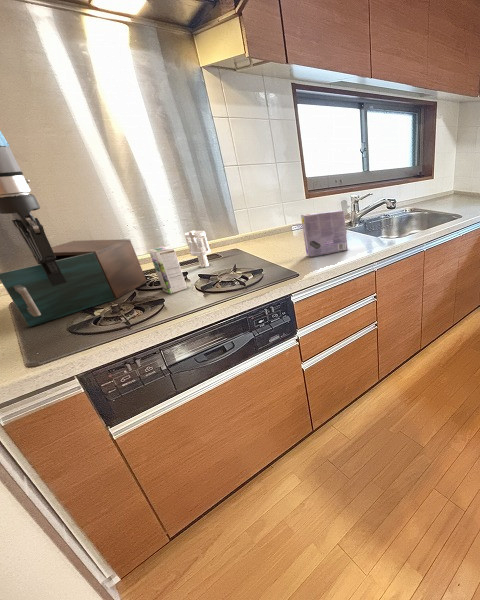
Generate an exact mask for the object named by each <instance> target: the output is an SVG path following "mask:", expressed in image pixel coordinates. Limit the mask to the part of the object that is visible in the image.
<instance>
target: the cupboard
mask: <svg viewBox="0 0 480 600" xmlns="http://www.w3.org/2000/svg"><path fill="white" fill-rule="evenodd" d="M51 248H52V250H53V252H54V254H55V256H56V259H55V261H56V260H61V259H65V258H70V257H74V256H79V255H83V254H88V253H94V254H95V257H96V259H97V261H98V263H99V265H100V267H101V270H102V272H103V274H104V276H105V278H106V280H107V283H108V285H109V287H110V289H111V291H112V293H113V296H114V298H115V299H118V298H120V297H122V296H124V295H126V294H129V292H131V291H133V290H135V289H138V288H139V287H141V286H142V285H144V284H146V283H148V281H147V278H146V276H145V273H144V271H143V268H142V265H141V263H140V260H139V258H138V256H137V254H136V251H135V248H134V246H133V243H132V241H131V239H130V238H128V239H127V238H126V239H123V238H122V239H95V240H94V239H92V240H91V239H90V240H89V239H87V240H85V239H84V240H71V241H68V242H65V243H61V244H58V245H54V246H51ZM34 260H35V262H37V261H38V260H37V259H36V258H34Z"/></svg>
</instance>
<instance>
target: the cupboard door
mask: <svg viewBox="0 0 480 600" xmlns="http://www.w3.org/2000/svg"><path fill="white" fill-rule="evenodd" d="M56 263H57V265H58V267H59V269H60V271H61V273H62V275H63V276H64V278H65V280H66V282H67V283H63V284H59V285H55V286H53V285H52V284H51V282H50V281H49V279H48V277H47V275H46V273H45V272H44V270H43V268H42V266H41V264H38V263H37V264H34V265H30V266H25V267H19V268H16V269H12V270H7V271H3V272H0V283H1V284H2V286H3V287H4V289H5V290H6V292H7V294H8V296H9V297H10V299H11V300H12V302H13V303H14V305H15V307H16V308H17V310H18V311H19V313H20V315H21V317H22V318H23V320H24V321H25V324H26V325H27V326H28V328H31V327H35V326H37V325H41V324H44V323H47V322H49V321H53V320H56V319H59V318H62V317H66V316H69V315H71V314H75V313H78V312H80V311H84V310H86V309H90V308H93V307H96V306H99V305H102V304H105V303H108V302H112V301H114V300H116V298H114V296H113V293H112V291H111V289H110V287H109V285H108V283H107V280H106V278H105V276H104V274H103V272H102V270H101V267H100V265H99V263H98V261H97V259H96V257H95V254H94V253H88V254H83V255H79V256H74V257H70V258H65V259H61V260H56ZM80 307H81V308H80ZM82 308H83V309H82Z"/></svg>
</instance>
